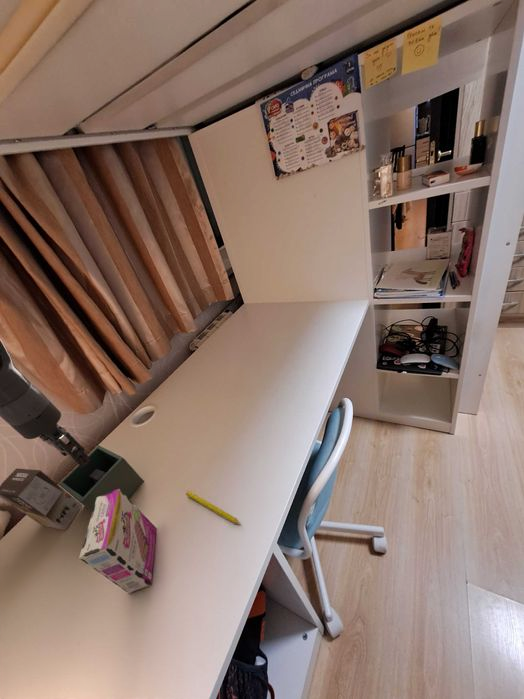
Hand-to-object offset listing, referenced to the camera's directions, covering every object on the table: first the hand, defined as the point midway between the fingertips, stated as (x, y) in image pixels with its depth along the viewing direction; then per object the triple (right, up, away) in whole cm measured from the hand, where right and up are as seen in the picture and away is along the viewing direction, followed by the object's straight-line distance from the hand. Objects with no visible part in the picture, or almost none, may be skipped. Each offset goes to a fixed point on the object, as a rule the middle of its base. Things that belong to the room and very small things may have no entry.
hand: (77, 457), depth 67 cm
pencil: (+32, -11, -2) cm, 34 cm away
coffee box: (-9, -18, +7) cm, 21 cm away
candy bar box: (+19, -18, -7) cm, 27 cm away
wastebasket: (+4, -13, +8) cm, 16 cm away
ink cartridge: (+4, -12, +8) cm, 15 cm away
